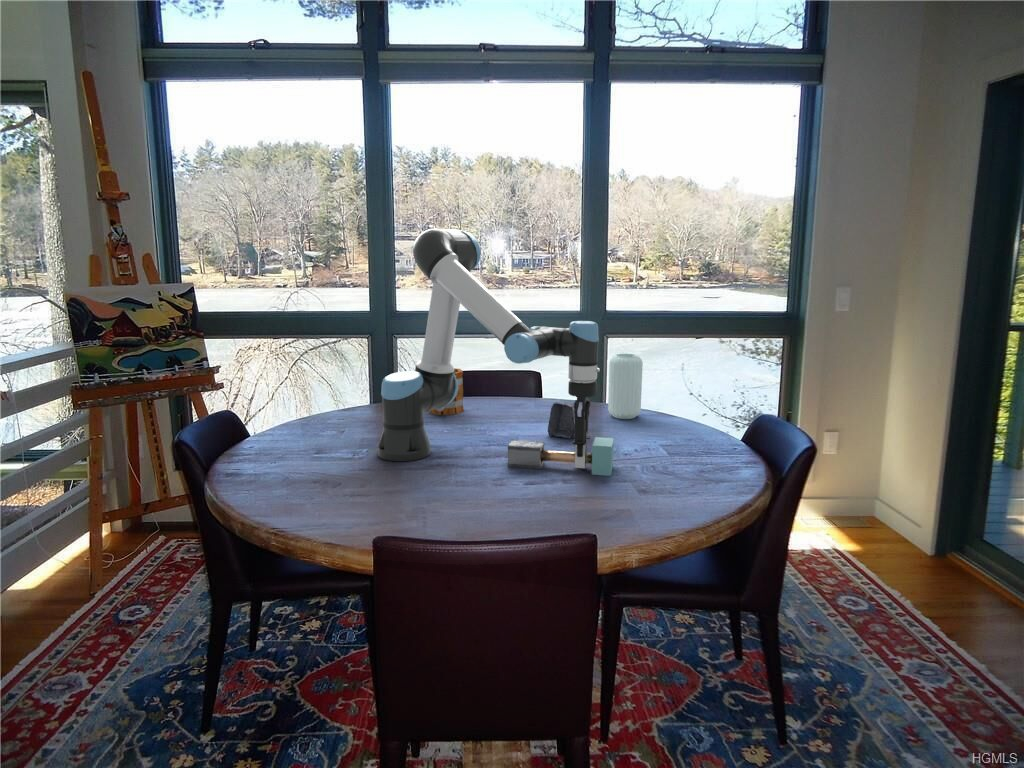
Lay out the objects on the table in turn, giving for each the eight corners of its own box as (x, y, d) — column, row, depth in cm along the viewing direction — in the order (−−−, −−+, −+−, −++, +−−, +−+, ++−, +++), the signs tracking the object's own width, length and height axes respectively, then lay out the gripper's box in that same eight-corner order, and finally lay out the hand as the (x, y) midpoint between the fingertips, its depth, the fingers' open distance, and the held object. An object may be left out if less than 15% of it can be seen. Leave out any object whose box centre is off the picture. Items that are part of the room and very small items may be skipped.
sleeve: (507, 467, 178) (507, 445, 177) (512, 460, 184) (512, 439, 182) (540, 469, 176) (540, 448, 175) (543, 462, 182) (544, 441, 181)
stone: (568, 446, 203) (540, 433, 207) (577, 443, 212) (550, 431, 216) (582, 411, 202) (554, 398, 205) (590, 410, 211) (563, 398, 214)
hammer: (530, 462, 178) (530, 430, 176) (532, 458, 181) (533, 427, 179) (604, 467, 173) (605, 434, 172) (605, 463, 176) (606, 431, 175)
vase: (616, 411, 241) (618, 351, 237) (645, 415, 234) (648, 354, 230) (602, 417, 232) (604, 355, 227) (631, 422, 225) (634, 358, 221)
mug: (432, 406, 249) (431, 367, 246) (467, 407, 247) (466, 368, 244) (419, 418, 230) (418, 377, 227) (457, 420, 228) (456, 377, 225)
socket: (591, 474, 172) (592, 445, 170) (594, 465, 180) (595, 437, 178) (610, 475, 171) (611, 446, 169) (612, 466, 179) (613, 438, 177)
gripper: (594, 386, 163) (591, 476, 168) (599, 375, 179) (597, 457, 183) (564, 385, 165) (562, 473, 169) (572, 374, 180) (570, 455, 185)
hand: (580, 464), depth 176 cm, fingers closed on hammer, 3 cm apart
